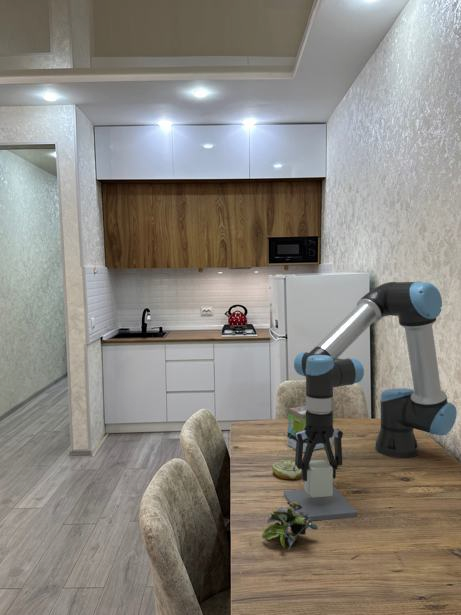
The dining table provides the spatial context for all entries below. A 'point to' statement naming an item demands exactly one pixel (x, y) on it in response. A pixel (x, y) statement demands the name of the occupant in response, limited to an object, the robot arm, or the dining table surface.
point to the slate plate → (321, 505)
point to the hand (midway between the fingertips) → (318, 490)
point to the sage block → (321, 478)
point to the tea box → (299, 427)
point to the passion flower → (288, 524)
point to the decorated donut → (286, 469)
